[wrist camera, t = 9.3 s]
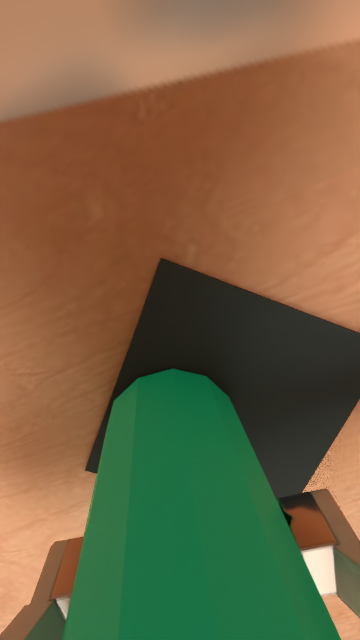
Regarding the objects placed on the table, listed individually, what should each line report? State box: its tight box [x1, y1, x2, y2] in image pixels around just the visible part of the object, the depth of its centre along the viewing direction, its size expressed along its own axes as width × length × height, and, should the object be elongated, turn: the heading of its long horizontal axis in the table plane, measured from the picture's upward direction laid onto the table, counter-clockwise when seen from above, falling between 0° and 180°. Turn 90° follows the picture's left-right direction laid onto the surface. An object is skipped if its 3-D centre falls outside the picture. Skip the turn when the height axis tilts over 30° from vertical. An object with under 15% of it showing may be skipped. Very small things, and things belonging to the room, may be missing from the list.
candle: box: [62, 369, 341, 640], centre depth 9 cm, size 6×6×12 cm
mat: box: [85, 258, 360, 500], centre depth 15 cm, size 11×11×1 cm
